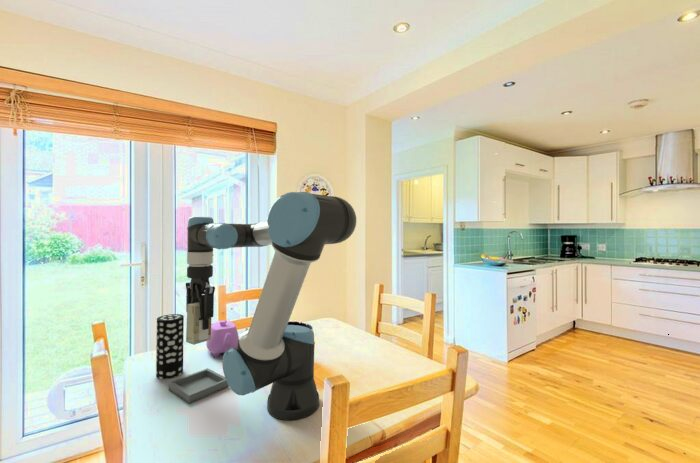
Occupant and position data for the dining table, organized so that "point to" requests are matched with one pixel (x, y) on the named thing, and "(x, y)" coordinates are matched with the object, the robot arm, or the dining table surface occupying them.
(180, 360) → the white-spotted black cylinder
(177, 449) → the dining table surface
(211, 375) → the tray
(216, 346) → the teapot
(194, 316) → the skincare box
